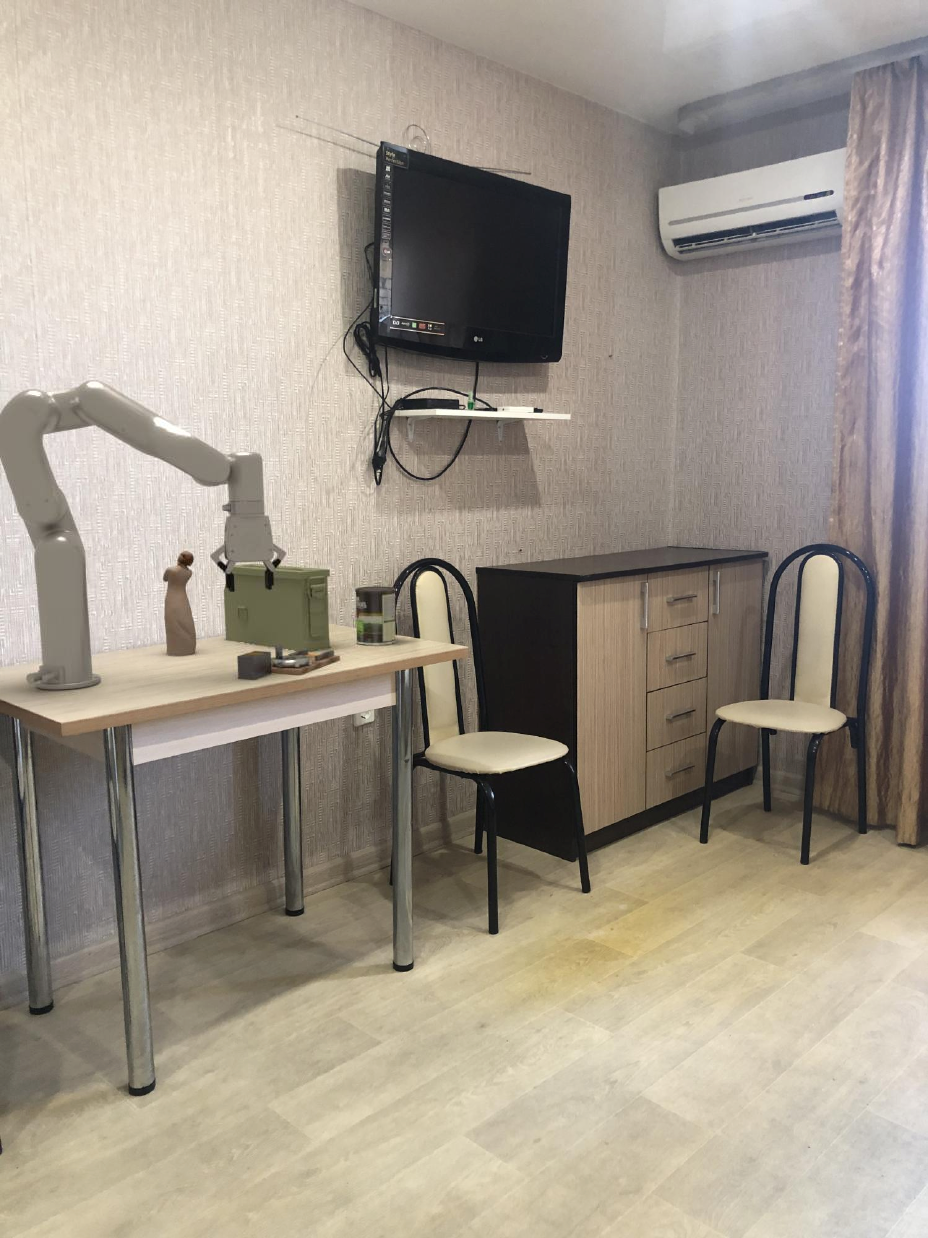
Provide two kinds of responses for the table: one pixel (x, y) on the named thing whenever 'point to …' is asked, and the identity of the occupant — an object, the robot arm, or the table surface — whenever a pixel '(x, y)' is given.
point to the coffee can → (375, 615)
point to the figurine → (179, 608)
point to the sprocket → (289, 659)
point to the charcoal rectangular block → (254, 665)
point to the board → (318, 662)
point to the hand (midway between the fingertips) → (250, 589)
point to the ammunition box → (278, 607)
